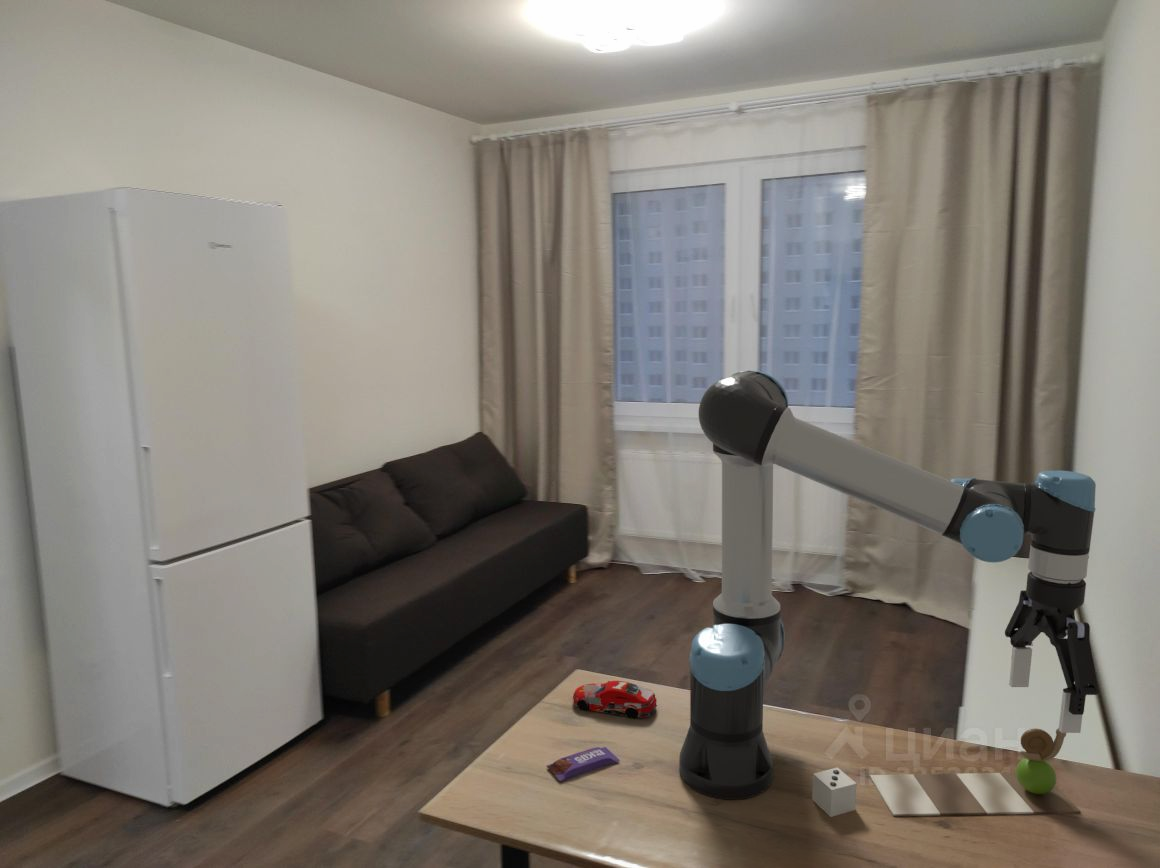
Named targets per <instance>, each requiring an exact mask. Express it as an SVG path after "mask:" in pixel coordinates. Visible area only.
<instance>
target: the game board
mask: <svg viewBox="0 0 1160 868" xmlns="http://www.w3.org/2000/svg"><path fill="white" fill-rule="evenodd" d="M869 779H870V780H871V782H872V784H873V785H874V787H875V788H876V790H877V791H878V793H879V795H880V796H881V798H882V799H883V802H884V803H885V805H886V807H887V808H888V809H889V811H890V813H891V814H892V816H893V817H912V816H913V817H914V816H916V817H919V816H969V815H975V816H977V815H1018V814H1019V815H1024V814H1025V815H1028V814H1029V815H1030V814H1031V815H1033V814H1035V815H1036V814H1041V815H1042V814H1043V815H1044V814H1080V813H1081V810H1080V809H1079V807H1077V805H1076V804H1075V803H1073V802H1072V800H1070V799H1069V798H1068V796H1066V794H1064V792H1062V790H1061V789H1059V788H1058V786H1057V785H1055V787H1054V788H1053V789H1052V790H1051V791H1050V792H1048V793H1046V794H1034V793H1031V792H1029V791H1027V790H1026V789H1025V788H1023V787H1022V785H1021V784H1020V783H1019V781H1018V779H1017V775H1016V772H977V773H976V772H974V773H973V772H971V773H920V774H919V773H917V774H916V773H913V774H905V773H904V774H869Z"/></svg>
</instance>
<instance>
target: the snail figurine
mask: <svg viewBox="0 0 1160 868" xmlns="http://www.w3.org/2000/svg"><path fill="white" fill-rule="evenodd" d="M1055 734H1056V735H1055V738H1054V740H1053V738H1052V736H1051V735H1050V733H1048V732H1047V731H1046V730H1043V729H1041V728H1030V729H1028V730H1026V731H1024V733H1022V735H1021V736H1020V745H1021V747H1022V749H1023V750H1021V751H1020V752H1019V753H1020V755H1021V756H1023V758H1022V759H1021V760H1020V761H1019V762H1018V764H1017V766H1016V770H1015V773H1016V775H1017V779H1018V781H1019V783H1020V784H1021V785H1022V787H1023V788H1025V789H1026V790H1027V791H1029V792H1031V793H1034V794H1046V793H1048V792H1050V791H1051V790H1052V789H1053V788H1054V787H1055V786H1056V785H1057V774H1056V772H1055V769H1054V768H1053V766H1052V765H1051V764H1050V762H1048V761H1049V760H1052V759H1054V758H1055V757H1057V756H1058V754H1059V752H1060V751H1061V750H1062V749H1061V748H1062V746H1063V743H1064V740H1065V737H1066V736H1067V733H1061V732H1060V731H1059V727H1058V728H1057V729H1056V730H1055Z"/></svg>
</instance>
